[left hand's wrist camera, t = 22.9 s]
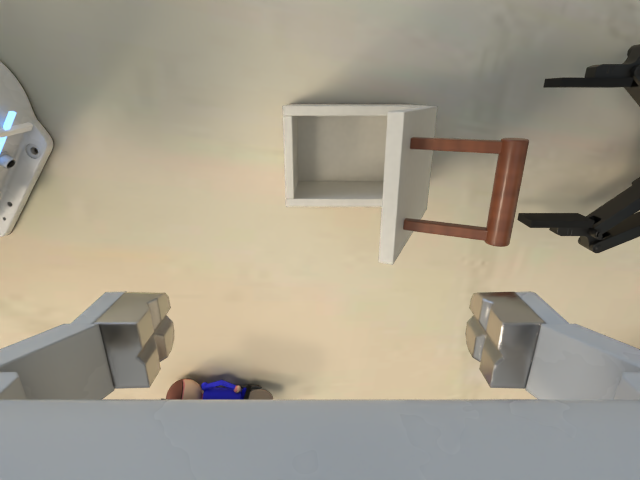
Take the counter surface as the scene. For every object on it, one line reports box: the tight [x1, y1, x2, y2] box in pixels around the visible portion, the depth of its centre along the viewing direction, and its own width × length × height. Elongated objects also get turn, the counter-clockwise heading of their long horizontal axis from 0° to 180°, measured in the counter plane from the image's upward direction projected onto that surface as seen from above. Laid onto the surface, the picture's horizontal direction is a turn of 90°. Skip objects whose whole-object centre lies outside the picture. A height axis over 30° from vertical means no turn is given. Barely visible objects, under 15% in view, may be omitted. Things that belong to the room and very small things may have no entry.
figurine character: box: [161, 379, 273, 400], centre depth 54 cm, size 7×8×15 cm
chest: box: [283, 104, 425, 207], centre depth 40 cm, size 13×10×9 cm
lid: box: [379, 106, 529, 265], centre depth 28 cm, size 14×10×8 cm
